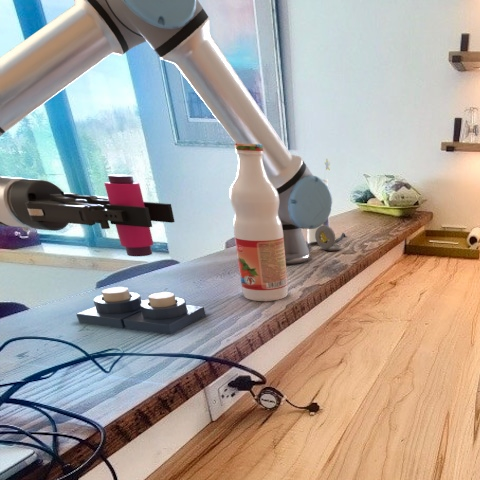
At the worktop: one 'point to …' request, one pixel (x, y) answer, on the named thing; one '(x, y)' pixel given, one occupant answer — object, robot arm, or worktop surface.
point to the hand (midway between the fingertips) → (160, 215)
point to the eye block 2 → (164, 317)
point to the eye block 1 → (111, 311)
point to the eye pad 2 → (162, 299)
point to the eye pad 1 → (115, 294)
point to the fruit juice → (257, 228)
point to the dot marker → (129, 194)
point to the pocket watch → (326, 238)
